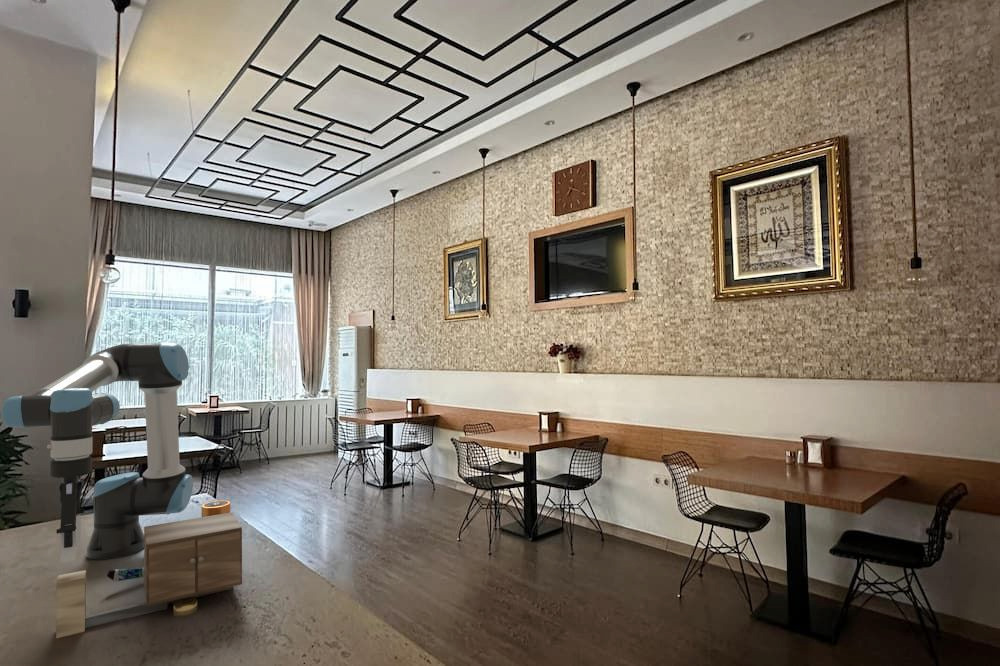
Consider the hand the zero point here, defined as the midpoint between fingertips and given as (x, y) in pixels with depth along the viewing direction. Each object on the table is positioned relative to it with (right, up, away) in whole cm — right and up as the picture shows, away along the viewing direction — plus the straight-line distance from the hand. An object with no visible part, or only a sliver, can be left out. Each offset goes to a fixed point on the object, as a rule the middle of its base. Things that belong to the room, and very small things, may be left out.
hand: (70, 552), depth 125 cm
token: (+21, -18, +8) cm, 29 cm away
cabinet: (+20, -17, +13) cm, 30 cm away
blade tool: (+7, -17, +4) cm, 19 cm away
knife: (+5, -18, +30) cm, 35 cm away
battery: (+18, -18, +29) cm, 39 cm away
